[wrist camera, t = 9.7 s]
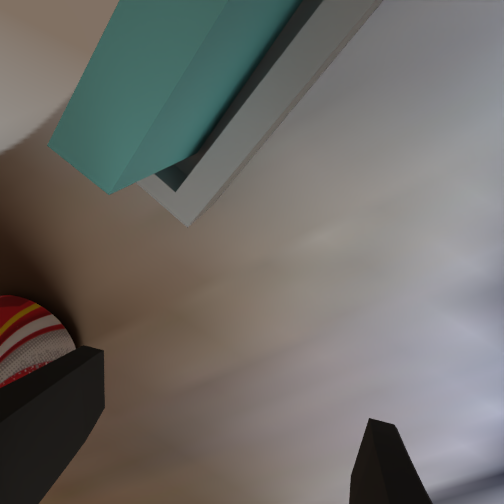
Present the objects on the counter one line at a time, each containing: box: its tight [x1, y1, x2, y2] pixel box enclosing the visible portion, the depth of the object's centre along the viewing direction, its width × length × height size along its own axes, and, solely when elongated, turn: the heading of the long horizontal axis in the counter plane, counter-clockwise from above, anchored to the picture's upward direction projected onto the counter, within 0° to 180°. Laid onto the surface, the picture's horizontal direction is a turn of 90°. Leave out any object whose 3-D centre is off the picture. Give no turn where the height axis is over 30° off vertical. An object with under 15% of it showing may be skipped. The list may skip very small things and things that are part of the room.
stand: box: [136, 0, 383, 228], centre depth 15 cm, size 6×12×3 cm, turn 140°
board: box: [47, 0, 303, 195], centre depth 12 cm, size 2×9×7 cm, turn 143°
